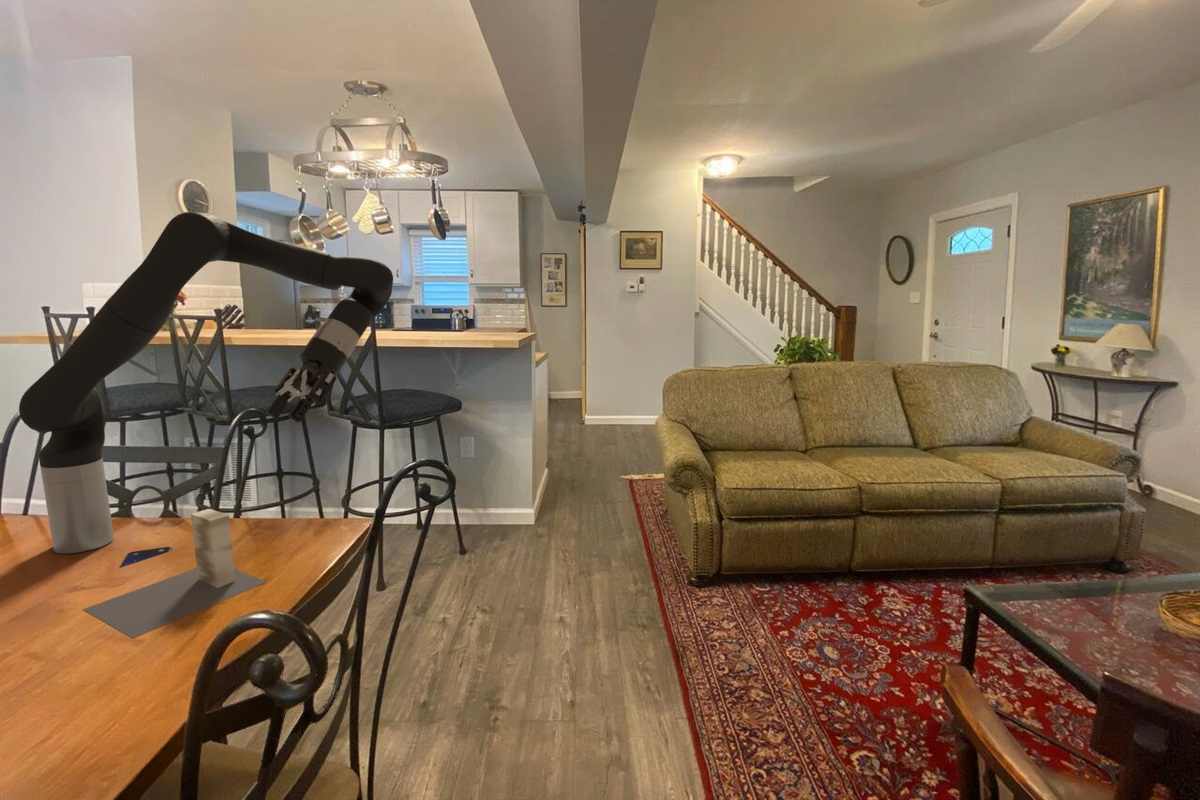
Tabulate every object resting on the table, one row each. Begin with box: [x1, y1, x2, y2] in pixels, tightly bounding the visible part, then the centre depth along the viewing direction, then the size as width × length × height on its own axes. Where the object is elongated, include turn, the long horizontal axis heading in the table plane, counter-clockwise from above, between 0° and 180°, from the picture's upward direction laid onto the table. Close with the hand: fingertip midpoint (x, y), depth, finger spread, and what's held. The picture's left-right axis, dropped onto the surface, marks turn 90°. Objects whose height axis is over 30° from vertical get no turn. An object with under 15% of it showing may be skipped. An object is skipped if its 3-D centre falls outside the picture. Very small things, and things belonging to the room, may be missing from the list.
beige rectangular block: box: [190, 508, 236, 588], centre depth 103 cm, size 6×3×12 cm, turn 61°
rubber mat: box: [82, 567, 267, 639], centre depth 99 cm, size 16×20×1 cm
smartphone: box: [118, 546, 173, 569], centre depth 110 cm, size 7×1×15 cm
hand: (282, 417), depth 110 cm, fingers open, 8 cm apart
